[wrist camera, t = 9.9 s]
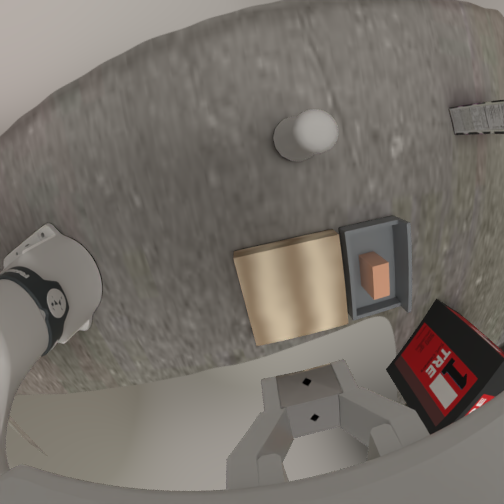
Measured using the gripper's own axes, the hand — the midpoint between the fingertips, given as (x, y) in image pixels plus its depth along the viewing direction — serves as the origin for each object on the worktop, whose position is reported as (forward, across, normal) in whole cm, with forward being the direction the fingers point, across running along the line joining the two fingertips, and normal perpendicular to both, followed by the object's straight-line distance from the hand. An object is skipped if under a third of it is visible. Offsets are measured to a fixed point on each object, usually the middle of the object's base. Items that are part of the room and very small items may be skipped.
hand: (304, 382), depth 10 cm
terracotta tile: (+28, -14, +11) cm, 33 cm away
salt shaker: (+31, -7, -9) cm, 33 cm away
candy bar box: (+31, -40, -10) cm, 52 cm away
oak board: (+31, -3, +11) cm, 33 cm away
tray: (+31, -16, +11) cm, 36 cm away
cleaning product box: (+31, -27, +30) cm, 51 cm away
